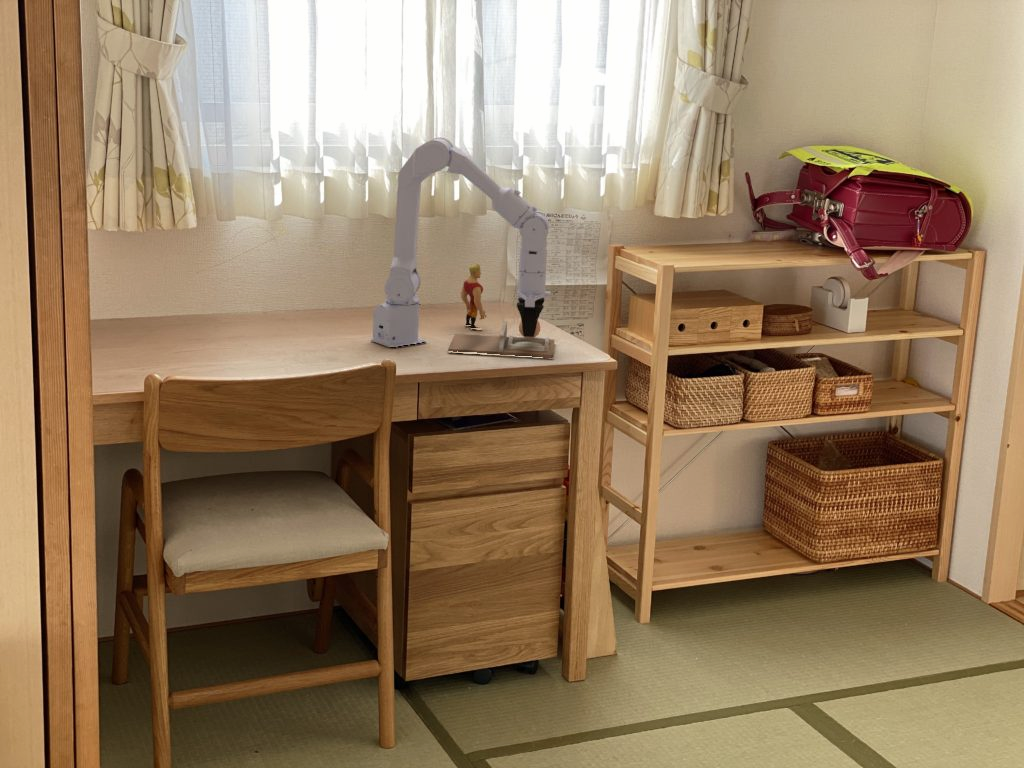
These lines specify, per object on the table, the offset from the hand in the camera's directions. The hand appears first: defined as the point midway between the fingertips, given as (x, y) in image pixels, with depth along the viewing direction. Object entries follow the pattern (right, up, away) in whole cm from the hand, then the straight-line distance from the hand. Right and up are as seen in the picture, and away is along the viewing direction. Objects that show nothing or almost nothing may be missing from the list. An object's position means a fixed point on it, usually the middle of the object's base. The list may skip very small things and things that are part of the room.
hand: (529, 333), depth 256 cm
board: (-6, -3, +1) cm, 7 cm away
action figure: (-13, +2, +19) cm, 22 cm away
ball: (0, +1, 0) cm, 1 cm away
